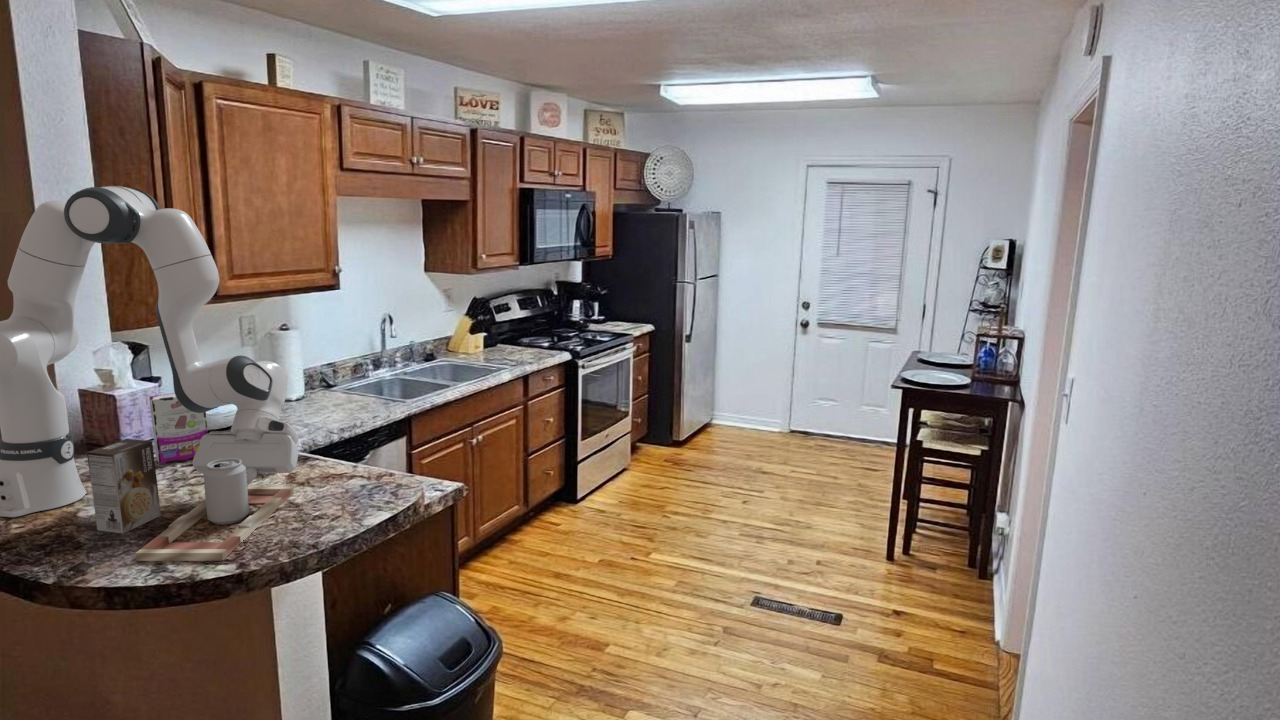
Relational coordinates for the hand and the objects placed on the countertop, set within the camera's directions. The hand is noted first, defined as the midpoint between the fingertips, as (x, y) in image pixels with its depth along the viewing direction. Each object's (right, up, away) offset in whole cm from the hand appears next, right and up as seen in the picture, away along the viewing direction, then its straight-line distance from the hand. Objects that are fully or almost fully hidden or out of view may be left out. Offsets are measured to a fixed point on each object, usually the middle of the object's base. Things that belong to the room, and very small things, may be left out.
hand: (237, 490), depth 158 cm
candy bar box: (-30, +2, +32) cm, 44 cm away
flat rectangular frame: (0, -6, -6) cm, 8 cm away
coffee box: (-18, -6, -7) cm, 20 cm away
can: (0, -5, -3) cm, 6 cm away
